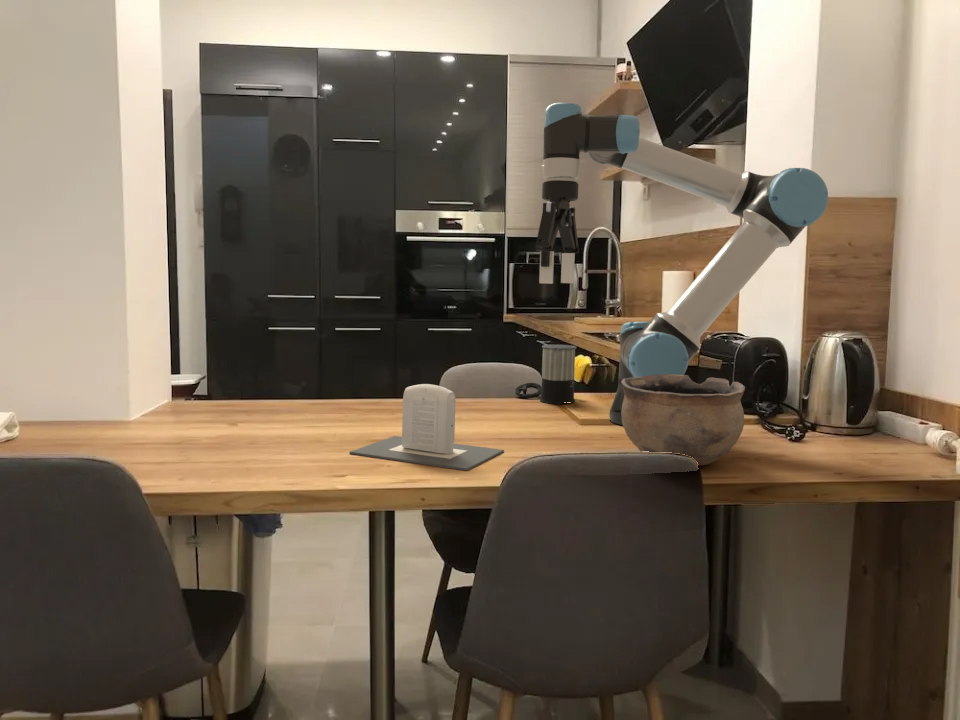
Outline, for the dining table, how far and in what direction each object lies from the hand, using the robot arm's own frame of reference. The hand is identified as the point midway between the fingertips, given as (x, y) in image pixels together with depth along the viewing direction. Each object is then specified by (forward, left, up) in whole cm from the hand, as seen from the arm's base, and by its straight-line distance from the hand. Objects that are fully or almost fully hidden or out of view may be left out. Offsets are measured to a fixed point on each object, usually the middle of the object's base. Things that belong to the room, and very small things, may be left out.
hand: (557, 283), depth 165 cm
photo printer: (+13, +32, -31) cm, 47 cm away
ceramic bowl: (-30, +15, -32) cm, 46 cm away
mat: (+13, +32, -32) cm, 47 cm away
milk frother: (+16, -37, -32) cm, 51 cm away
